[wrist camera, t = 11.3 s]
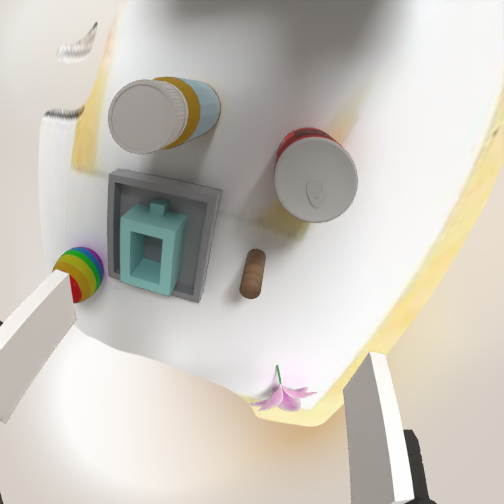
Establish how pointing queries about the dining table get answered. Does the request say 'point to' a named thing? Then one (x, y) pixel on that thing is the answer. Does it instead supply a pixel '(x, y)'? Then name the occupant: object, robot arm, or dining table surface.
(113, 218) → the tray
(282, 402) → the lily
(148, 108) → the bottle
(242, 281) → the post
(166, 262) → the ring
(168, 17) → the dining table surface
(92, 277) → the decorative egg
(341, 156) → the canned food
